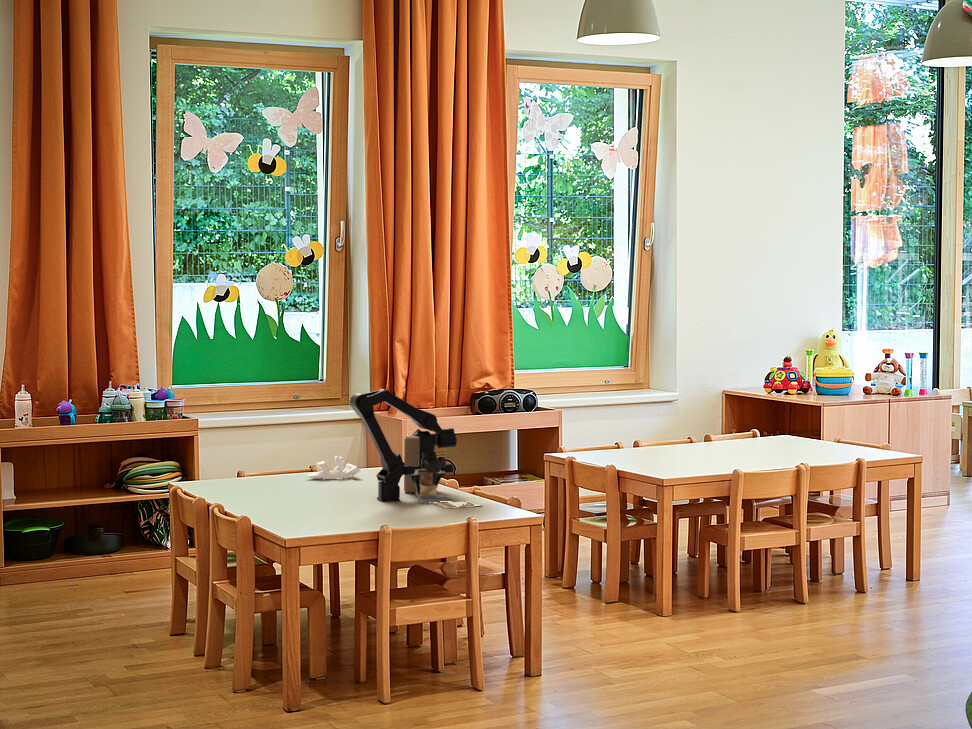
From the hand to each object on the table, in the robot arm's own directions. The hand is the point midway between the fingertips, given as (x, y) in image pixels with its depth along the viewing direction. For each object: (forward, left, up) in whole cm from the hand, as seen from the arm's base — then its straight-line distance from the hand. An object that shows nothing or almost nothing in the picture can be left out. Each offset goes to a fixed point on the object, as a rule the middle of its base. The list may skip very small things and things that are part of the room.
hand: (426, 493), depth 397 cm
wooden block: (+3, +14, -2) cm, 14 cm away
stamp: (0, 0, -2) cm, 2 cm away
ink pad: (0, -8, -2) cm, 8 cm away
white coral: (-17, +57, -2) cm, 59 cm away
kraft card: (+4, -18, -2) cm, 19 cm away
